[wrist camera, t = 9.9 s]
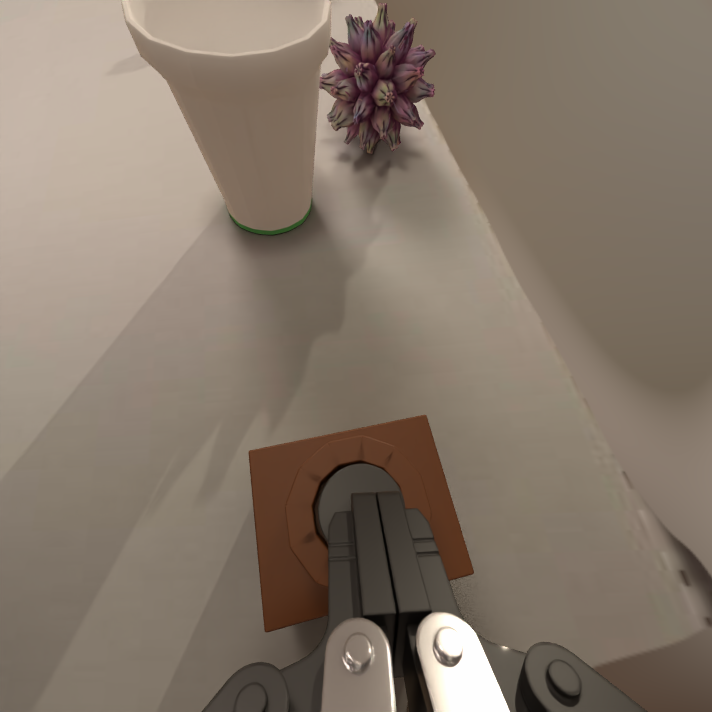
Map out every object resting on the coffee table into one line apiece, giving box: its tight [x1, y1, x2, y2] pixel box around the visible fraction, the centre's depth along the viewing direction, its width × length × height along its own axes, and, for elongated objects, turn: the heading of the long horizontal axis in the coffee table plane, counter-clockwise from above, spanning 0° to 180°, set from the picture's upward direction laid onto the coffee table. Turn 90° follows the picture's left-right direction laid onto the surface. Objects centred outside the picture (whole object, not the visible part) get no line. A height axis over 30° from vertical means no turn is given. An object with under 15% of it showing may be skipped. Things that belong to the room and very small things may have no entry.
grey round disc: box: [318, 464, 405, 542], centre depth 15 cm, size 4×4×2 cm
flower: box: [319, 3, 435, 154], centre depth 35 cm, size 12×12×12 cm
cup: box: [121, 0, 331, 235], centre depth 28 cm, size 12×12×15 cm
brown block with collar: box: [249, 415, 474, 632], centre depth 20 cm, size 10×8×9 cm
